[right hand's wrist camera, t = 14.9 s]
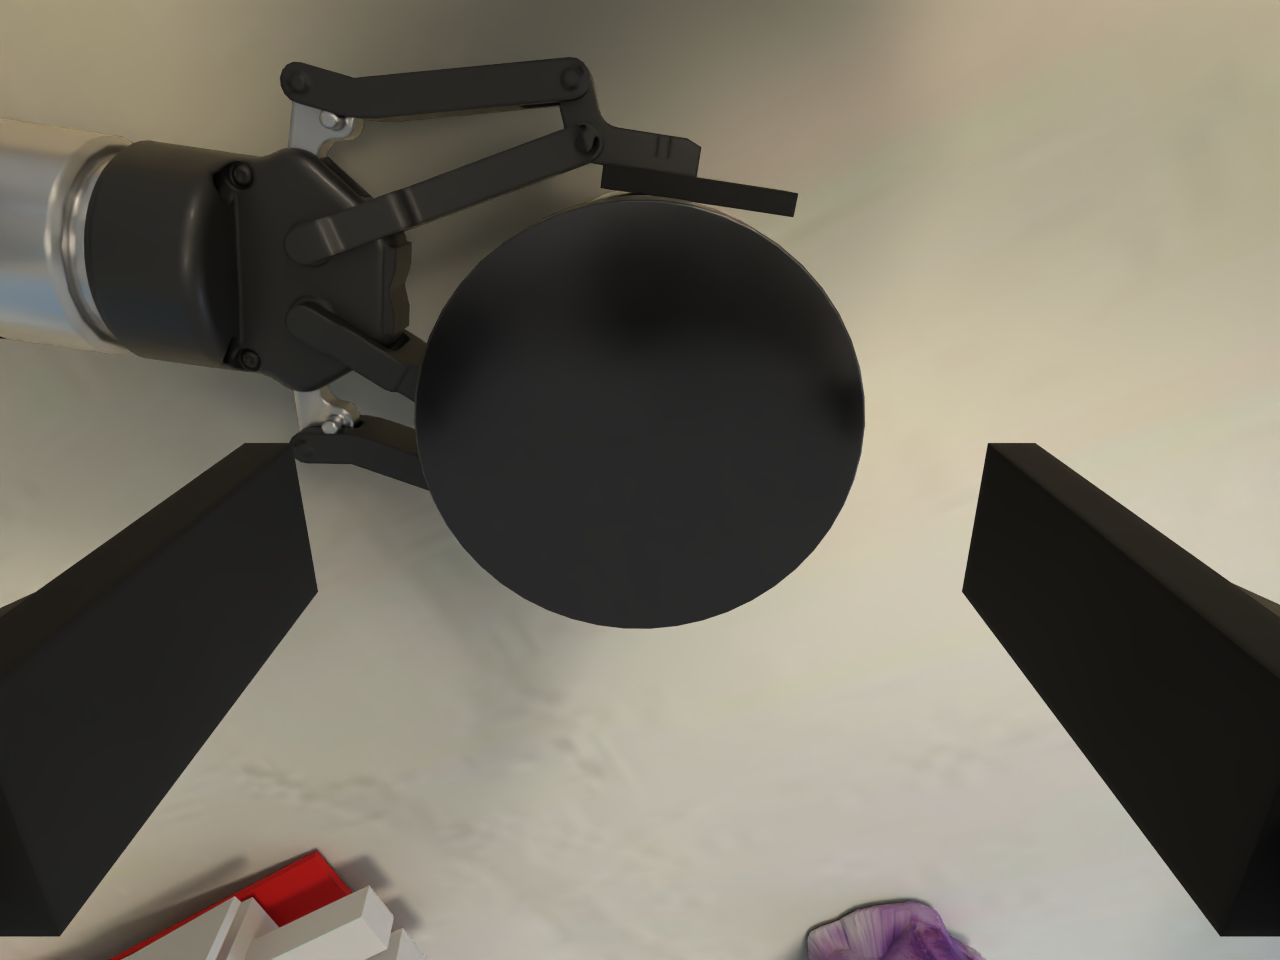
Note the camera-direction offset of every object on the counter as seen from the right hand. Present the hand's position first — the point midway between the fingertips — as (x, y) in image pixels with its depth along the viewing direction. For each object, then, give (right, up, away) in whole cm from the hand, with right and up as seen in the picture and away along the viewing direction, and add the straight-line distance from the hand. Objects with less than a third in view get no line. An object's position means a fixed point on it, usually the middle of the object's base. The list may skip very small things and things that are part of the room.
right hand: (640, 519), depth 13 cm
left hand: (+4, +6, +16) cm, 18 cm away
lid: (0, +2, +4) cm, 5 cm away
